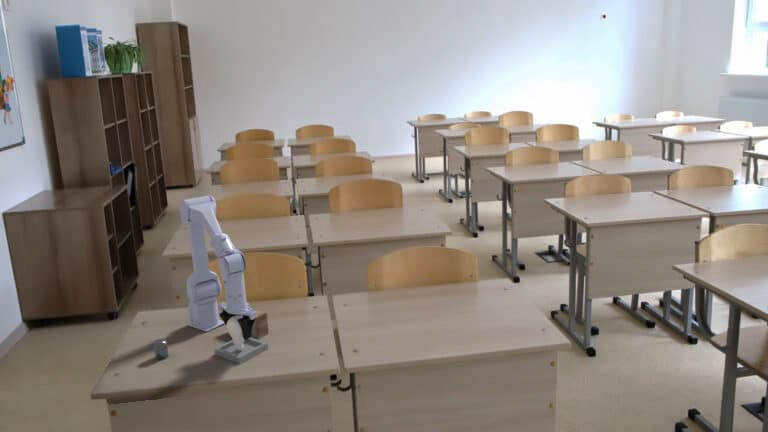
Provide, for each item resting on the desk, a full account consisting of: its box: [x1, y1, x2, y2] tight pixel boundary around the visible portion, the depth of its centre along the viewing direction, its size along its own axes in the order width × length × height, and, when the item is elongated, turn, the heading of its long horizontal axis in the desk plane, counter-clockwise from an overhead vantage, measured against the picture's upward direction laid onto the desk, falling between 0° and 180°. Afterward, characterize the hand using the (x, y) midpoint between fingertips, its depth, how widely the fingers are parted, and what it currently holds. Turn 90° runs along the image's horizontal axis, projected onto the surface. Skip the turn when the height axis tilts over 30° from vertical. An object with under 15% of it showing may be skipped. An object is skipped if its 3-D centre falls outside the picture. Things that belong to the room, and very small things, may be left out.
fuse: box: [153, 338, 170, 361], centre depth 187 cm, size 4×4×5 cm
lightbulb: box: [225, 316, 244, 351], centre depth 187 cm, size 6×6×11 cm
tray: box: [214, 336, 269, 365], centre depth 189 cm, size 11×11×2 cm
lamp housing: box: [237, 308, 269, 339], centre depth 201 cm, size 12×5×7 cm, turn 54°
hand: (240, 336), depth 187 cm, fingers closed on lightbulb, 6 cm apart
